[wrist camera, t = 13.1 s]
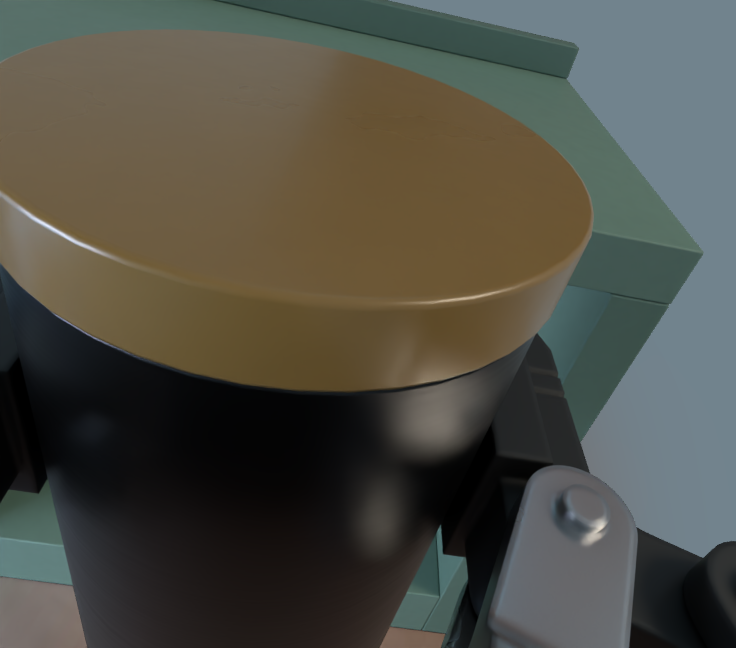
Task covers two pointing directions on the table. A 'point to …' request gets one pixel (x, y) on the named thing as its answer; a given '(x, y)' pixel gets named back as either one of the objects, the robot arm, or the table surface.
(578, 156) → the shelf
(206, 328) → the black tea tin
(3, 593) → the table surface
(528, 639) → the robot arm
